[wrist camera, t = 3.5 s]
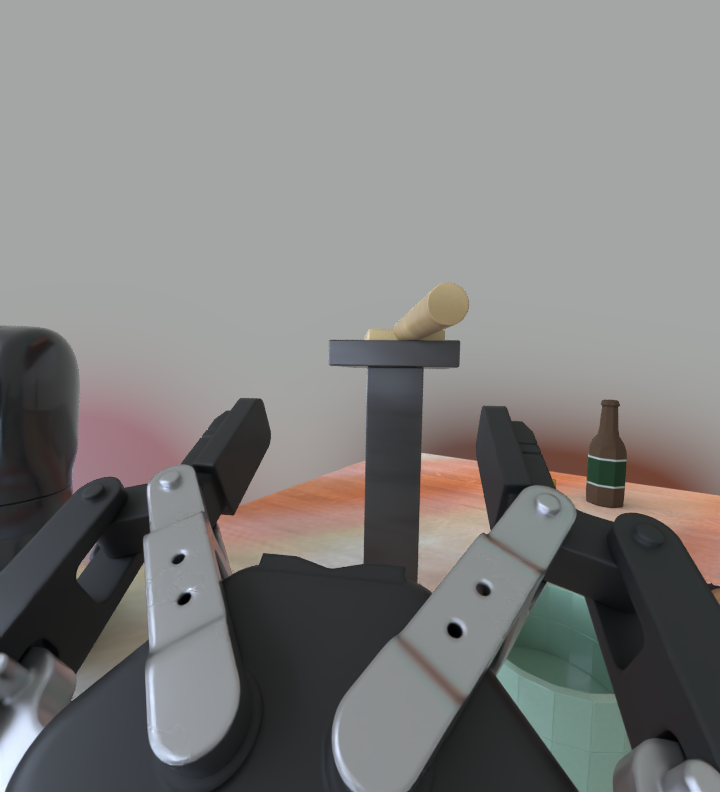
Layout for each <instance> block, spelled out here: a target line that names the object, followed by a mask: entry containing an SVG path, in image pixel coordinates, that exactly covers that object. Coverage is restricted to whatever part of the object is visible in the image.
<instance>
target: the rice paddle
mask: <svg viewBox="0 0 720 792" xmlns="http://www.w3.org/2000/svg"><path fill="white" fill-rule="evenodd" d="M468 309H469V299H468V296H467V294H466V292H465V291H464V289H463V288H462V287H460V286H459V285H457V284H455V283H449V282H448V283H442V284H439V285H437V286H436V287H435V288H434V289H432V290H431V291H430V292H429V293H428V294H427V295H426V296H425V297H424V298H423V299H422V300H420V301H419V302H418V303H417V304H416V305H415V306H414V307H413V308H412V309H411V310H410V311H409V312H407V313H406V314H405V315H404V316H403V317H402V318H401V319H400V320H399V321H398V322H397V323H396V324H395V326H394V329H369V330H368V332H367V333H366V335H365V337H364V340H445V330H443V329H445V328H448V327H450V326H453V325H455V324H457V323H459V322H460V321H462V320H463V319H464V317H465V316H466V314H467V312H468Z"/></svg>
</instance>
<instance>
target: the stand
mask: <svg viewBox="0 0 720 792" xmlns="http://www.w3.org/2000/svg"><path fill="white" fill-rule="evenodd" d="M459 359H460V341H459V340H457V341H456V340H454V341H453V340H447V341H446V340H329V365H331V366H343V367H354V368H367V413H366V414H367V415H366V467H365V520H364V564H367V563H372V564H383V565H394V566H404V567H406V574H405V578H406V579H409V580H412V581H414V582H416V583H417V575H418V541H419V507H420V473H421V438H422V403H423V369H448V368H457V367H459Z"/></svg>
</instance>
